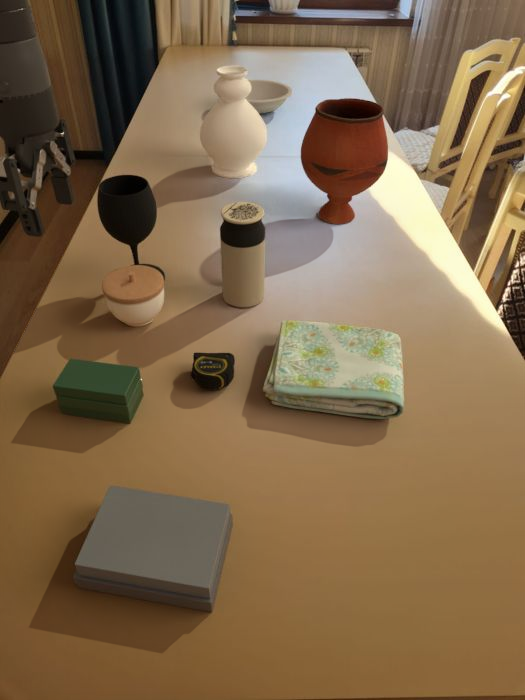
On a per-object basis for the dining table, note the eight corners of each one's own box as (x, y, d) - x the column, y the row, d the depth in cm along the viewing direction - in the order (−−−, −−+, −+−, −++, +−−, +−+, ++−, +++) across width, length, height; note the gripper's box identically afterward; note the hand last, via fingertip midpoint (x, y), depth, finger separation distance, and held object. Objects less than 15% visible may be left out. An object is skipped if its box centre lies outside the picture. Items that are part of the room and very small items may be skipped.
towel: (278, 333, 97) (279, 310, 93) (399, 347, 94) (404, 324, 91) (261, 407, 83) (261, 384, 80) (401, 426, 81) (407, 403, 77)
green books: (60, 414, 82) (54, 396, 79) (77, 386, 86) (72, 367, 84) (131, 424, 80) (127, 406, 78) (145, 395, 85) (141, 377, 82)
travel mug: (271, 293, 106) (274, 208, 94) (248, 314, 101) (247, 227, 89) (239, 280, 109) (237, 196, 97) (214, 299, 104) (209, 213, 92)
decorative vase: (261, 185, 142) (262, 82, 125) (195, 179, 144) (187, 78, 127) (271, 158, 155) (273, 62, 138) (210, 153, 157) (205, 58, 140)
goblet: (386, 207, 133) (405, 100, 117) (363, 243, 120) (381, 129, 104) (313, 191, 139) (322, 88, 123) (284, 224, 126) (289, 113, 109)
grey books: (77, 587, 62) (67, 567, 59) (112, 505, 70) (105, 482, 67) (212, 612, 60) (210, 592, 57) (233, 524, 68) (232, 502, 65)
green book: (55, 395, 79) (52, 385, 78) (72, 367, 84) (70, 358, 82) (127, 405, 78) (124, 395, 77) (141, 376, 82) (139, 367, 81)
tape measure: (235, 365, 90) (235, 348, 88) (233, 395, 85) (232, 378, 83) (194, 364, 90) (192, 347, 88) (189, 394, 85) (187, 377, 83)
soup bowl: (260, 94, 198) (260, 75, 193) (306, 112, 184) (307, 91, 180) (207, 108, 186) (206, 87, 182) (251, 128, 173) (251, 106, 168)
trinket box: (127, 342, 94) (118, 299, 88) (98, 313, 100) (88, 270, 94) (179, 318, 99) (174, 276, 93) (149, 292, 105) (142, 250, 99)
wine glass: (148, 259, 114) (134, 167, 101) (175, 281, 108) (164, 187, 95) (103, 276, 109) (83, 182, 96) (129, 300, 103) (110, 204, 90)
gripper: (15, 63, 64) (49, 191, 75) (-57, 101, 54) (-5, 243, 65) (74, 67, 64) (100, 196, 74) (13, 106, 53) (53, 250, 64)
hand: (51, 218), depth 70 cm, fingers open, 8 cm apart
